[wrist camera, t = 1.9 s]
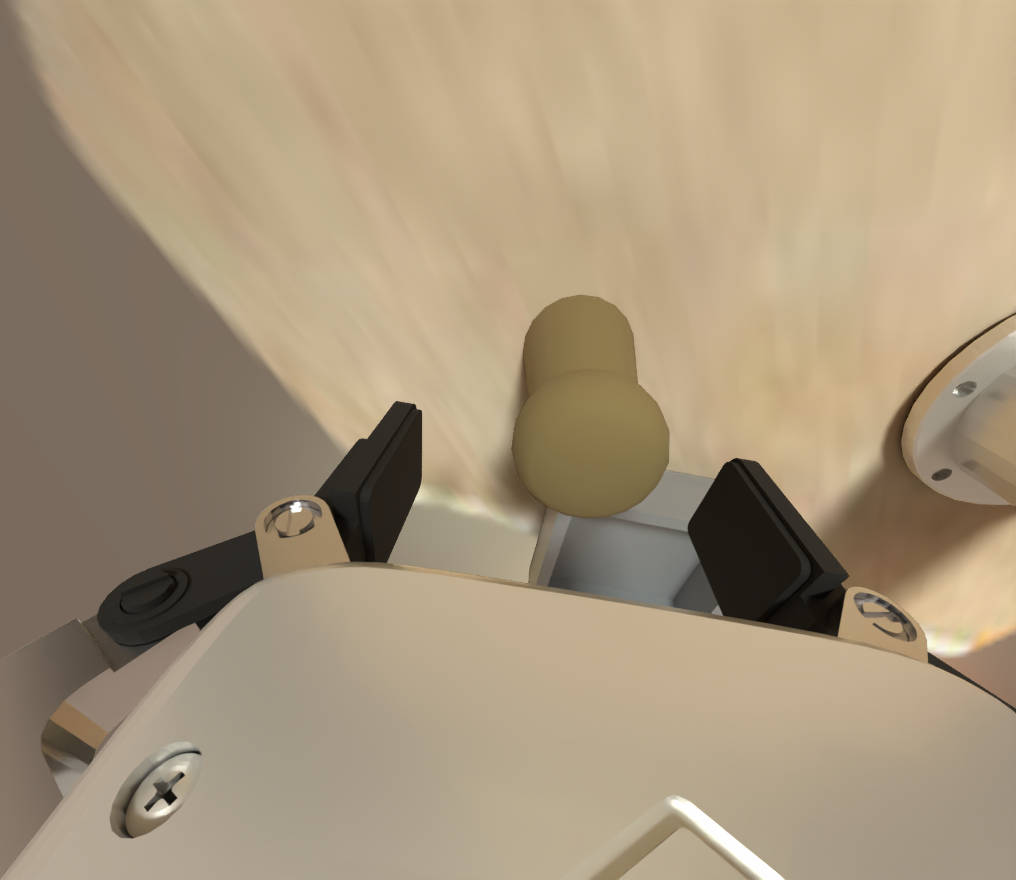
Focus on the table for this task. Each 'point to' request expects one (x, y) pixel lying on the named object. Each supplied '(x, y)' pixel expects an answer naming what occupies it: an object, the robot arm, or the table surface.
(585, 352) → the cork
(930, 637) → the table surface
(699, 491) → the box
